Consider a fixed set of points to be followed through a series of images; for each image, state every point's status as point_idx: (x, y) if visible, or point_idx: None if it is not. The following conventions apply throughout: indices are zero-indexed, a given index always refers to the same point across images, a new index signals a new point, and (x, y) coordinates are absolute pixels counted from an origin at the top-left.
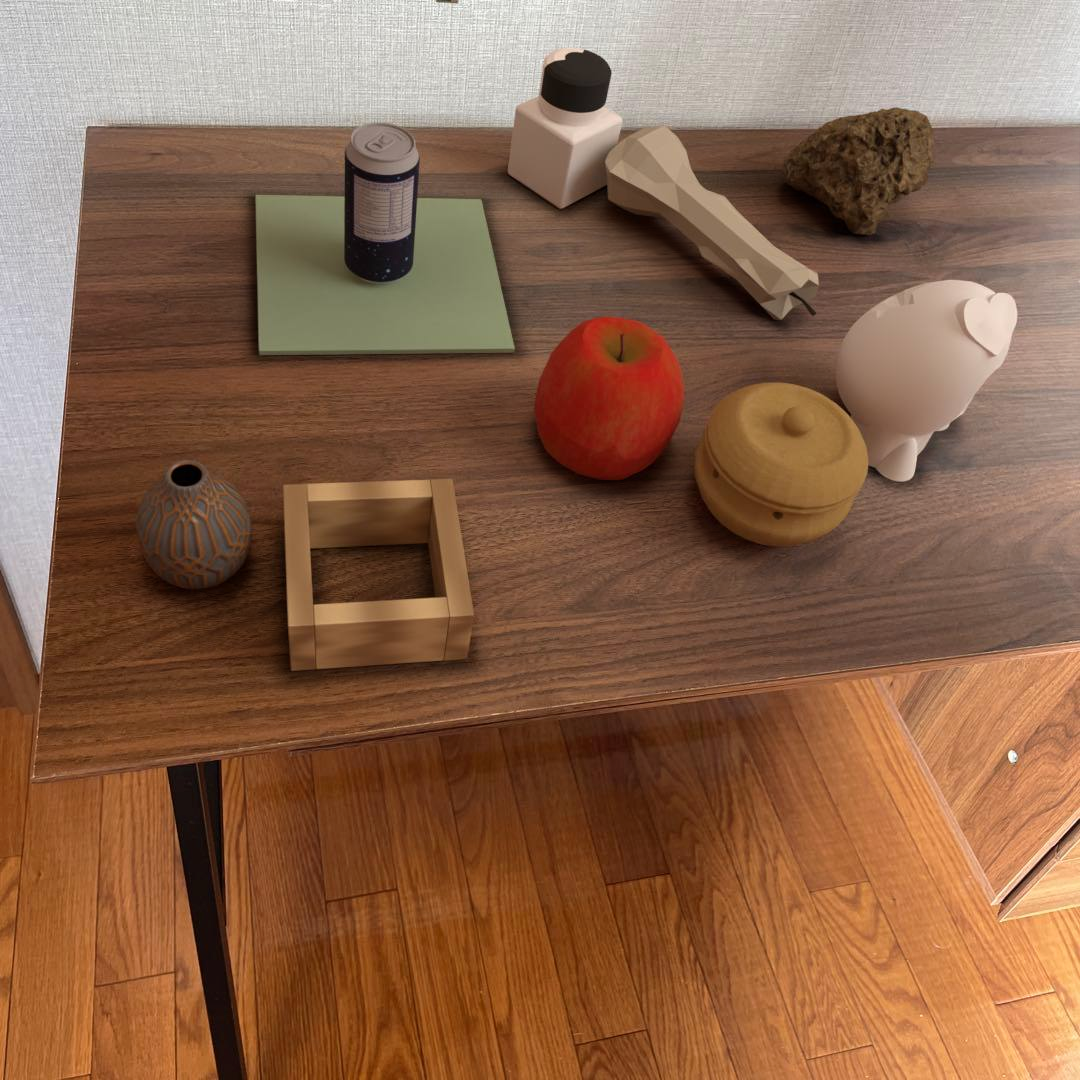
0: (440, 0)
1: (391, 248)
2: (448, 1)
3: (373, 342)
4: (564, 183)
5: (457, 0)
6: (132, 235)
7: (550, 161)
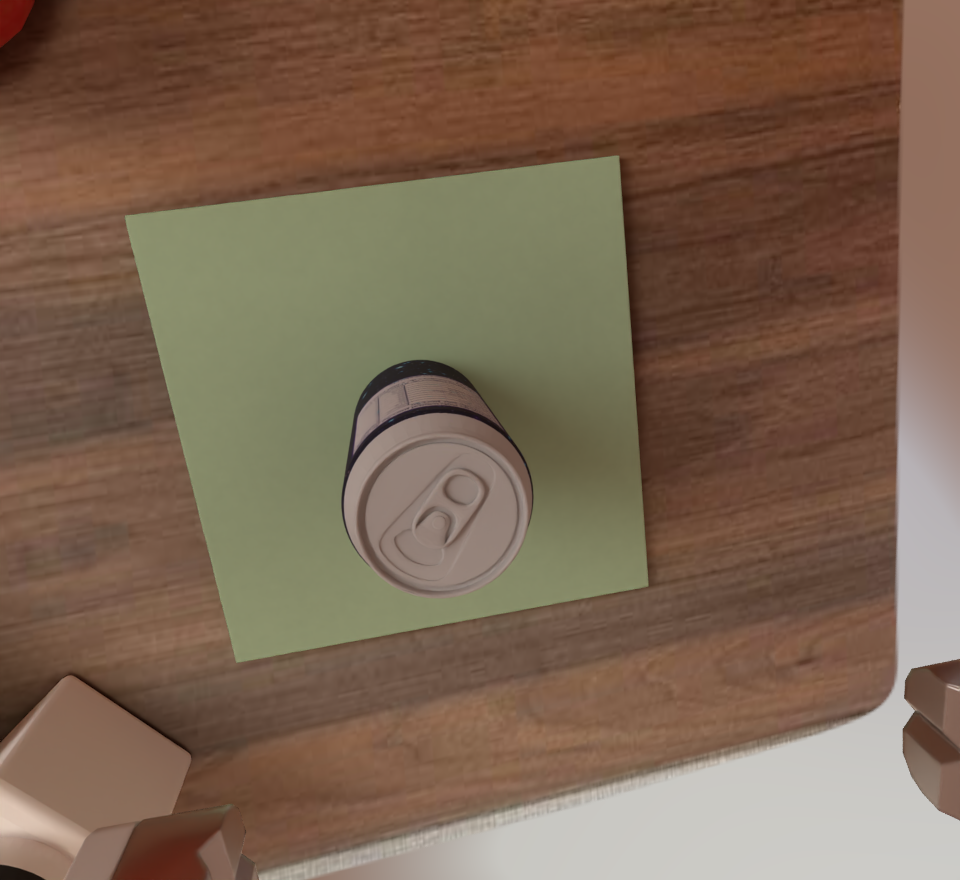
0: (207, 812)
1: (396, 377)
2: (155, 818)
3: (413, 202)
4: (44, 710)
5: (91, 836)
6: (832, 449)
7: (72, 754)
